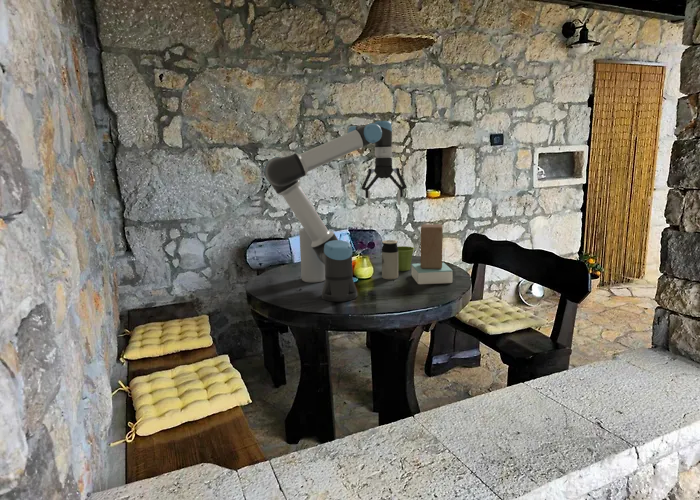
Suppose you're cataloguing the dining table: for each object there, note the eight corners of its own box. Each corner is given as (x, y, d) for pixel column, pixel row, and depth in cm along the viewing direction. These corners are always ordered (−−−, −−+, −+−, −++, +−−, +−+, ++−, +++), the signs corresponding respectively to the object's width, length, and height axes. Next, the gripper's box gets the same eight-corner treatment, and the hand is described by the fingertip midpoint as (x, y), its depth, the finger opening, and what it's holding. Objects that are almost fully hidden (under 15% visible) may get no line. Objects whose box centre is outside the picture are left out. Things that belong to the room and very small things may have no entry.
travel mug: (398, 275, 233) (398, 239, 229) (398, 279, 225) (398, 242, 222) (382, 275, 234) (381, 240, 230) (381, 279, 226) (381, 243, 222)
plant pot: (391, 267, 251) (390, 246, 249) (413, 266, 250) (413, 246, 248) (392, 272, 239) (392, 250, 237) (415, 272, 239) (415, 250, 236)
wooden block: (442, 269, 218) (442, 227, 214) (420, 269, 220) (420, 227, 216) (441, 264, 227) (442, 223, 223) (421, 264, 229) (421, 223, 225)
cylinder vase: (324, 275, 237) (322, 226, 232) (329, 281, 225) (327, 230, 220) (299, 277, 234) (297, 228, 229) (303, 284, 222) (301, 231, 217)
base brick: (418, 284, 216) (418, 271, 215) (411, 275, 232) (411, 263, 231) (452, 282, 217) (452, 270, 216) (443, 274, 233) (443, 262, 232)
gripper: (356, 157, 204) (357, 206, 208) (413, 156, 205) (412, 204, 209) (354, 157, 211) (355, 204, 215) (409, 156, 212) (409, 203, 217)
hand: (384, 205), depth 212 cm, fingers open, 13 cm apart
